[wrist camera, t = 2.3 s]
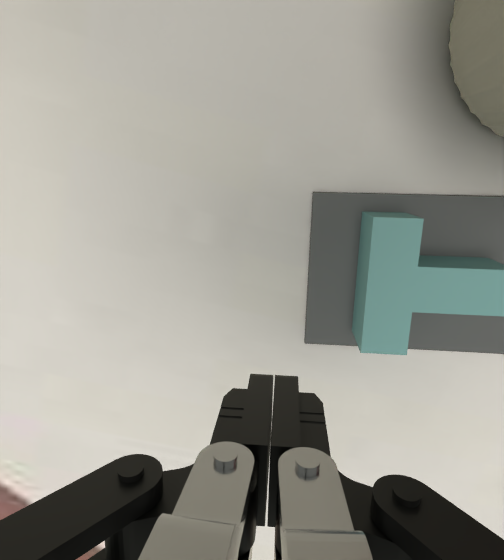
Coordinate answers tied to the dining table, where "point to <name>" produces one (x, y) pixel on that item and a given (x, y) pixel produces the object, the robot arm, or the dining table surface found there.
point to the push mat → (434, 242)
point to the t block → (414, 283)
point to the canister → (479, 58)
